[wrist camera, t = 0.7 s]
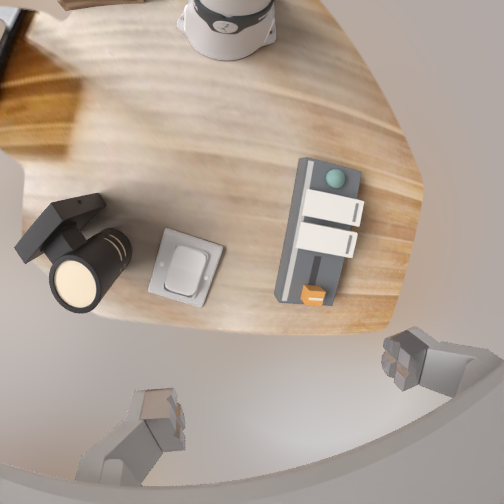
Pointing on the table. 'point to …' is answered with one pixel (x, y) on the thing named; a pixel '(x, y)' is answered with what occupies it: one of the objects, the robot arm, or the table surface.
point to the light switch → (184, 267)
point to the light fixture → (76, 252)
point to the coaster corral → (93, 3)
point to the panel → (305, 261)
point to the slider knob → (312, 295)
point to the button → (335, 178)
